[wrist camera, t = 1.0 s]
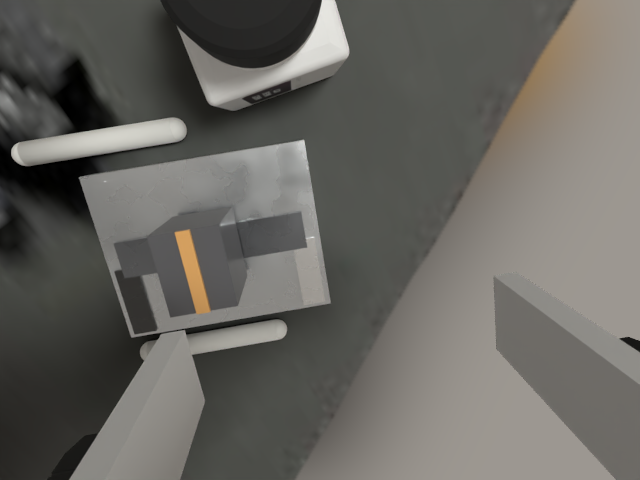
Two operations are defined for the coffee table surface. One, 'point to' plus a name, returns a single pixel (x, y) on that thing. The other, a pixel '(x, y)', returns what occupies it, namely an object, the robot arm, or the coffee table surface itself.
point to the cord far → (229, 337)
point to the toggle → (199, 262)
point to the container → (258, 46)
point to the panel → (204, 195)
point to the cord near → (99, 141)
